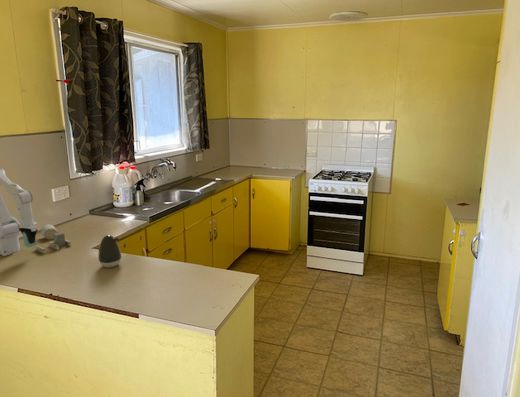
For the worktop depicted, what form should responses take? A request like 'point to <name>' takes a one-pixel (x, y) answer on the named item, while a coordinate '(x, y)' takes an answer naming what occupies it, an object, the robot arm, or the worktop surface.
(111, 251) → the dark grey egg shape
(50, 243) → the brown tray
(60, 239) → the grey plug
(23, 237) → the teal plug
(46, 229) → the ceramic mug
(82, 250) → the worktop surface
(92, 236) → the worktop surface
